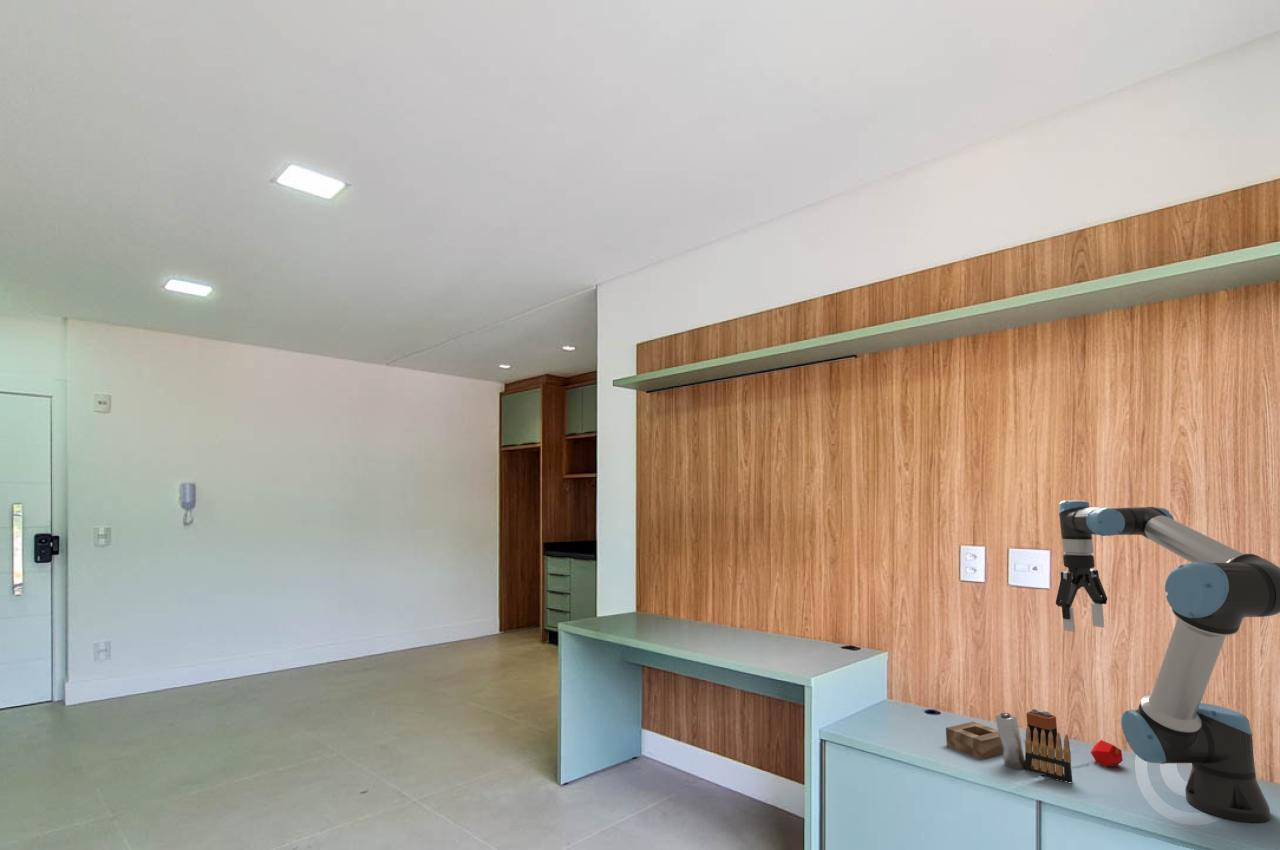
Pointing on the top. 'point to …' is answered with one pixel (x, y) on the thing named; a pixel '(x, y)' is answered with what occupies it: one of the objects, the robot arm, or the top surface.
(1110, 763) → the apple
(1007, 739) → the silver metal cylinder
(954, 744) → the box
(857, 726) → the top surface
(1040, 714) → the battery
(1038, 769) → the ammunition clip
